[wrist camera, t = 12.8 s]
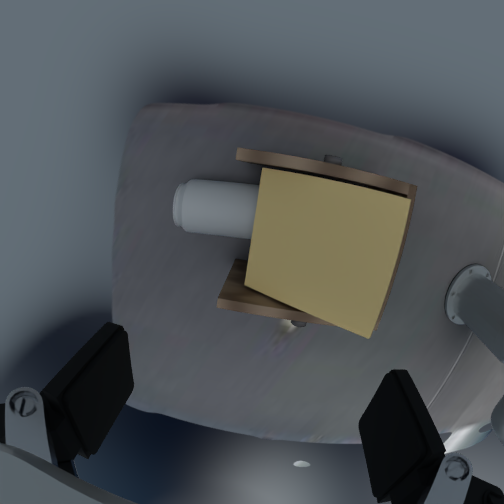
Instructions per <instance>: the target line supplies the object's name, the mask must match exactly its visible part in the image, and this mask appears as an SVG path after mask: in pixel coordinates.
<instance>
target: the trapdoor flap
mask: <svg viewBox="0 0 504 504" xmlns="http://www.w3.org/2000/svg"><path fill="white" fill-rule="evenodd" d="M410 204H411V200H410V199H407V198H403V197H400V196H396V195H392V194H389V193H385V192H381V191H377V190H373V189H369V188H365V187H360V186H356V185H352V184H347V183H343V182H338V181H334V180H329V179H324V178H319V177H314V176H309V175H303V174H298V173H292V172H287V171H281V170H275V169H269V168H262V173H261V180H260V186H259V193H258V199H257V206H256V212H255V219H254V225H253V232H252V238H251V245H250V251H249V258H248V265H247V271H246V278H245V284H244V285H246V286H248V287H250V288H252V289H254V290H256V291H259V292H261V293H263V294H265V295H268V296H270V297H272V298H274V299H276V300H279V301H281V302H283V303H285V304H288V305H290V306H292V307H295V308H297V309H299V310H301V311H304V312H306V313H308V314H311V315H313V316H315V317H318V318H320V319H322V320H325V321H327V322H329V323H332V324H334V325H336V326H339V327H341V328H344V329H346V330H348V331H351V332H353V333H356V334H358V335H361V336H363V337H365V338H368V339H369V338H370V337H371V335H372V332H373V330H374V327H375V325H376V322H377V319H378V316H379V314H380V311H381V308H382V305H383V302H384V300H385V297H386V294H387V291H388V287H389V284H390V281H391V278H392V275H393V271H394V268H395V265H396V261H397V258H398V254H399V250H400V247H401V243H402V239H403V235H404V231H405V227H406V222H407V218H408V214H409V209H410Z"/></svg>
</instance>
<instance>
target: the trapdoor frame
mask: <svg viewBox="0 0 504 504" xmlns="http://www.w3.org/2000/svg"><path fill="white" fill-rule="evenodd" d="M236 160H239V161H243V162H248V163H253V164H260V165H266V166H273V167H279V168H285V169H290V170H296V171H301V172H307V173H312V174H317V175H322V176H327V177H332V178H336V179H341V180H345V181H350V182H354V183H358V184H363V185H367V186H368V188H369V189H373V190H377V191H381V192H385V193H389V194H392V195H396V196H400V197H403V198H407V199H410V200H411V204H410V209H409V214H408V218H407V222H406V227H405V231H404V235H403V239H402V243H401V247H400V250H399V254H398V258H397V261H396V265H395V268H394V271H393V275H392V278H391V281H390V284H389V287H388V291H387V294H386V297H385V300H384V302H383V305H382V308H381V311H380V314H379V316H378V319H377V322H376V325H375V327H374V330H377V328H378V325H379V322H380V320H381V317H382V314H383V312H384V309H385V306H386V303H387V300H388V297H389V295H390V292H391V289H392V285H393V282H394V279H395V276H396V273H397V269H398V266H399V263H400V259H401V256H402V252H403V248H404V244H405V241H406V237H407V233H408V229H409V224H410V220H411V215H412V211H413V206H414V201H415V196H416V191H417V186H415V185H412V184H409V183H405V182H402V181H398V180H395V179H391V178H388V177H384V176H381V175H377V174H373V173H369V172H365V171H361V170H357V169H353V168H349V167H344V166H341V164H342V158H340V157H336V156H331V155H325V158H324V162H321V161H317V160H312V159H306V158H301V157H296V156H290V155H284V154H278V153H272V152H265V151H259V150H252V149H244V148H237V154H236ZM247 265H248V261H246V260H240V259H235V261H234V264H233V266H232V268H231V270H230V272H229V275H228V277H227V279H226V281H225V283H224V286H223V288H222V290H221V292H220V294H219V297H218V301H217V308H222V309H227V310H233V311H238V312H244V313H250V314H256V315H262V316H268V317H274V318H280V319H287V320H291V323H292V324H293V325H294V326H297V327H304V326H306V323H307V322H308V323H315V324H323V325H331V326H336V325H334V324H332V323H329V322H327V321H325V320H322V319H320V318H318V317H315V316H313V315H311V314H308V313H306V312H304V311H301V310H299V309H297V308H295V307H292V306H290V305H288V304H285V303H283V302H281V301H279V300H276V299H274V298H272V297H270V296H268V295H265V294H263V293H261V292H259V291H256V290H254V289H252V288H250V287H248V286H246V285H244V284H245V278H246V271H247Z"/></svg>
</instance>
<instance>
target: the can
mask: <svg viewBox="0 0 504 504" xmlns="http://www.w3.org/2000/svg"><path fill="white" fill-rule="evenodd" d="M259 186H260V185H255V184H246V183H236V182H225V181H214V180H201V179H191V180H190V181H188V182H187V183H186V184H185V183H181V184H180V185H179V186H178V188H177V190H176V192H175V196H174V201H173V219H174V222H175V224H176V226H182V228H183V229H184V230H185V231H186V232H192V233H201V234H209V235H218V236H226V237H235V238H243V239H251V238H252V232H253V225H254V219H255V212H256V206H257V199H258V193H259Z"/></svg>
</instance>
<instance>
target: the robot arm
mask: <svg viewBox="0 0 504 504" xmlns="http://www.w3.org/2000/svg"><path fill="white" fill-rule="evenodd" d="M445 311H446V314H447V316H448V318H449V319H450V320H451V321H452V322H453V323H455V324H460V325H462V324H466V325H467V326H468V327H469V328H470V329H471V330H472V331H473V332H474V334H475V335H476V336H477V337H478V338H479V339H480V340H481V341H482V342H483V343H484V344H485V345H486V346H487V347H488V348H489V350H490V351H491V352H492V353H493V354H494V355H495V356H496V357H497V358H498V360H499V361H501V362H502V363H504V289H502V288H501V287H499V286H498V285H497V284H495V283H494V282H492V279H491V275H490V273H489V271H488V270H487V269H486V268H485V267H484V266H482V265H479V264H473V265H469V266H467V267H466V268H464V269H463V270H462V271H460V272H459V274H458V275H457V276H456V277H455V278H454V280H453V281H452V283H451V285H450V287H449V289H448V292H447V295H446V299H445ZM133 388H134V381H133V374H132V367H131V360H130V351H129V343H128V334H127V332H126V331H124V328H123V326H121V325H117V324H114V323H111V322H107V323H106V324H105V325H104V326H103V327H102V328H101V329H100V330H99V331H98V332H97V333H96V334H95V335H94V336H93V337H92V338H91V339H90V340H89V341H88V342H87V343H86V344H85V345H84V346H83V347H82V348H81V349H80V350H79V351H78V352H77V353H76V354H75V356H73V357H72V358H71V360H70V361H69V362H68V363H67V364H66V365H65V366H64V367H63V368H62V369H61V370H60V371H59V372H58V373H57V375H56V376H55V377H54V378H53V379H52V380H51V381H50V382H49V383H48V384H47V386H46V387H45V388H44V389H43V390H42V391H41V392H40V393H38V392H37V391H36V390H34V389H32V388H28V387H22V388H18V389H15V390H13V391H12V392H11V393H10V394H9V395H8V397H7V398H6V403H4V404H0V504H137V503H134V502H131V501H129V500H126V499H123V498H121V497H118V496H116V495H114V494H112V493H109V492H107V491H105V490H102V489H100V488H98V487H96V486H94V485H91V484H89V483H87V482H85V481H83V480H81V479H79V477H78V474H77V470H76V467H75V463H74V458H75V457H76V455H77V454H79V455H81V456H83V457H85V458H87V459H89V457H90V455H91V454H93V455H94V454H95V453H96V452H97V451H98V449H99V447H100V446H101V444H102V442H103V440H104V439H105V437H106V435H107V434H108V432H109V430H110V428H111V427H112V425H113V423H114V422H115V420H116V418H117V416H118V415H119V413H120V411H121V410H122V408H123V406H124V405H125V403H126V401H127V400H128V398H129V396H130V395H131V393H132V391H133ZM491 425H492V428H493V430H494V432H495V434H496V435H497V437H498V439H499V440H500V441H501V443H502V444H503V446H504V396H503V397H502V398H501V400H500V401H499V402H498V404H497V405H496V406H495V408H494V410H493V412H492V415H491ZM359 432H360V436H361V440H362V444H363V449H364V454H365V458H366V463H367V468H368V473H369V477H370V483H371V488H372V493H373V495H374V497H377V502H378V503H382V502H387V501H391V503H392V504H504V494H503V492H502V491H501V489H500V488H498V487H497V486H494V485H492V484H490V483H488V482H485V481H483V480H481V479H479V478H477V477H474V476H472V472H473V468H472V464H471V462H470V461H469V459H468V458H467V457H466V456H464V455H462V454H459V453H451V454H448V455H447V456H446V457H445V455H444V452H445V451H446V449H445V447H444V445H443V442H442V440H441V438H440V436H439V433H438V431H437V429H436V427H435V425H434V423H433V420H432V418H431V416H430V414H429V412H428V410H427V408H426V406H425V404H424V402H423V400H422V398H421V396H420V394H419V392H418V390H417V388H416V386H415V384H414V382H413V380H412V378H411V377H410V375H409V373H408V371H407V370H395V369H393V370H391V371H390V372H389V373H387V374H386V375H385V376H384V378H383V380H382V382H381V384H380V386H379V388H378V389H377V391H376V393H375V395H374V397H373V398H372V400H371V402H370V404H369V405H368V407H367V409H366V410H365V412H364V414H363V415H362V417H361V418H360V420H359Z"/></svg>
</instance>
